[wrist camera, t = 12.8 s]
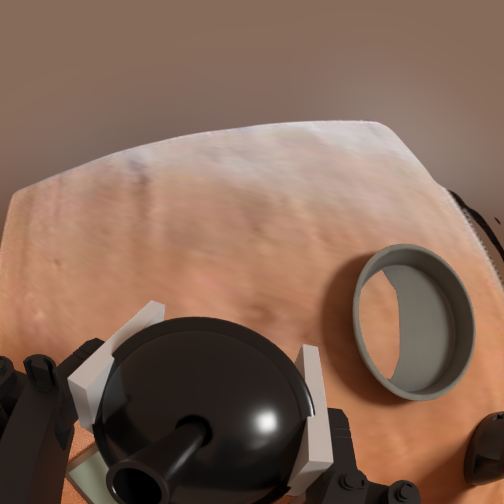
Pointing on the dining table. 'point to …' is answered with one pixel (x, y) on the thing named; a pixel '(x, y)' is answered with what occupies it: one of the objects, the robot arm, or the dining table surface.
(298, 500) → the grey square tray
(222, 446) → the drinking cup
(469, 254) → the dining table surface
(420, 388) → the cake pan
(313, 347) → the robot arm
